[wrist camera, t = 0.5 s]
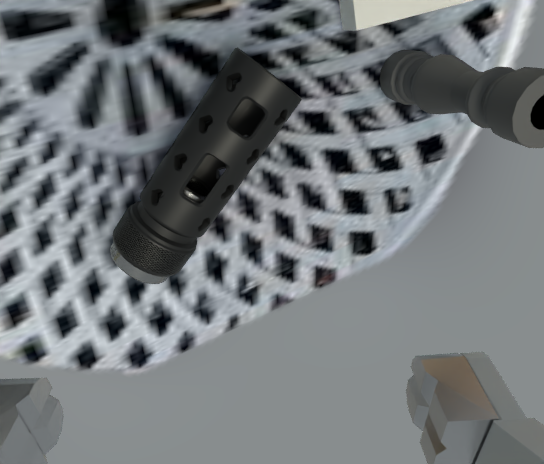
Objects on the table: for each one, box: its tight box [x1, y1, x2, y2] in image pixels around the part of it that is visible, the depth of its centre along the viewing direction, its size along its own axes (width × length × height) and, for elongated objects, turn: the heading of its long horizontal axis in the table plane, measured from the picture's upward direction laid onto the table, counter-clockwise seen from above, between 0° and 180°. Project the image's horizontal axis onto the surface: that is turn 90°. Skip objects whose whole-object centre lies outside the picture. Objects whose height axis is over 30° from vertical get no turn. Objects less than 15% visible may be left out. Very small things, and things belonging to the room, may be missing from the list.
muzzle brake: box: [110, 48, 301, 284], centre depth 49 cm, size 10×28×10 cm, turn 143°
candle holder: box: [380, 50, 544, 148], centre depth 42 cm, size 6×6×25 cm
